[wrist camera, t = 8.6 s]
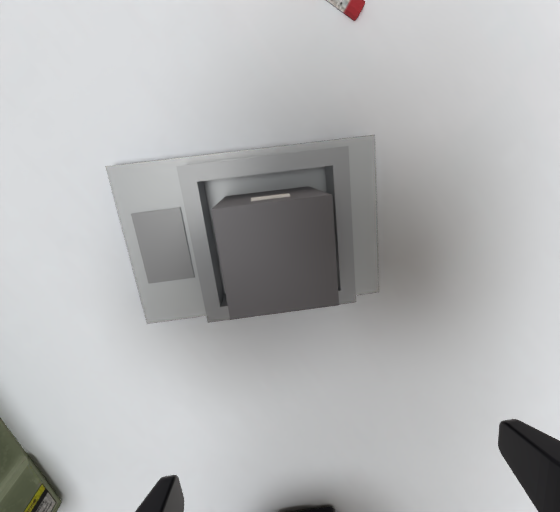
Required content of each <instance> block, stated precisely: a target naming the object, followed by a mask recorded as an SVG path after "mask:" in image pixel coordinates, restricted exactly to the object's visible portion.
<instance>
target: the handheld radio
mask: <svg viewBox="0 0 560 512" xmlns="http://www.w3.org/2000/svg"><path fill="white" fill-rule="evenodd" d="M60 504H61V500H60V498H59V497H58V496H57V494H56V493H55V491H54V490H53V489H52V487H51V486H50V485H49V483H48V482H47V481H46V479H45V478H44V477H43V475H42V474H41V472H40V471H39V470H38V468H37V467H36V466H35V464H34V463H33V462H32V460H31V459H30V458H29V456H28V455H27V453H26V452H25V451H24V449H23V448H22V447H21V445H20V444H19V443H18V441H17V440H16V439H15V437H14V436H13V434H12V433H11V432H10V430H9V429H8V428H7V426H6V425H5V424H4V422H3V421H2V420H1V418H0V512H57V510H58V508H59V506H60Z"/></svg>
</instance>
